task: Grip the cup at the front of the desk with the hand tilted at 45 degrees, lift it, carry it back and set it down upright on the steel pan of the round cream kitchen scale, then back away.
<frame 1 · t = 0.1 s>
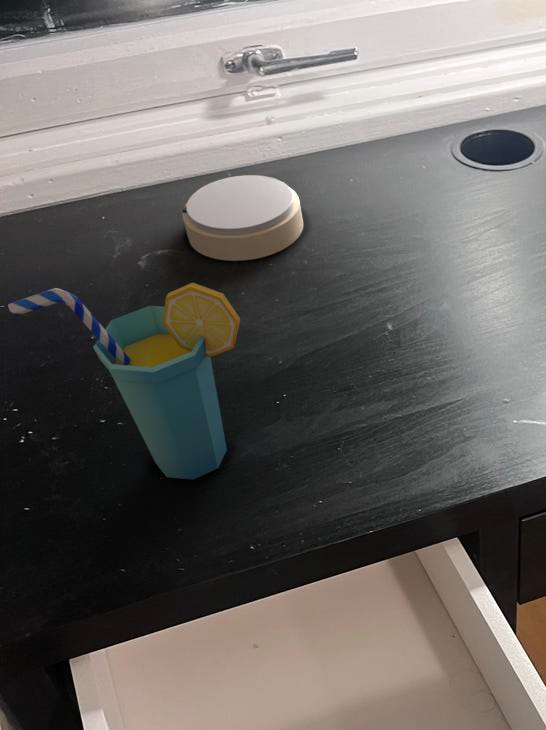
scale: (246, 231, 95), on the table
cup: (180, 461, 75), on the table
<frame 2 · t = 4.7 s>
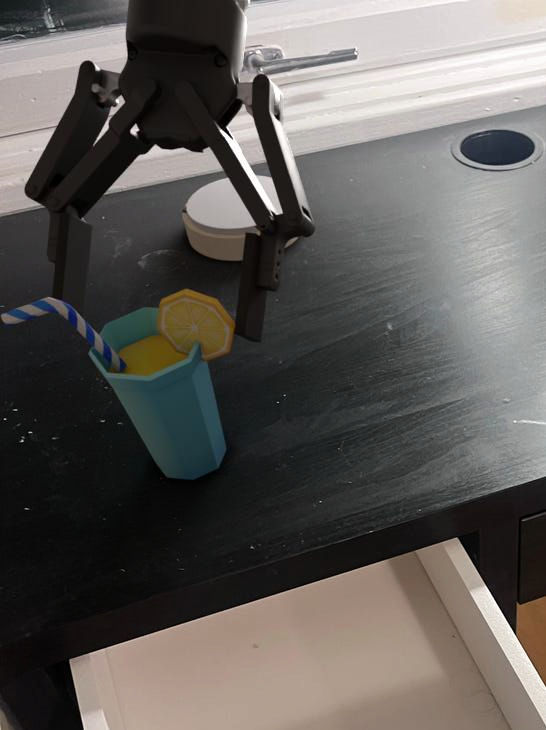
hand: (155, 327, 68), 10 cm above the table, tool tilted 45°, fingers open, 13 cm apart
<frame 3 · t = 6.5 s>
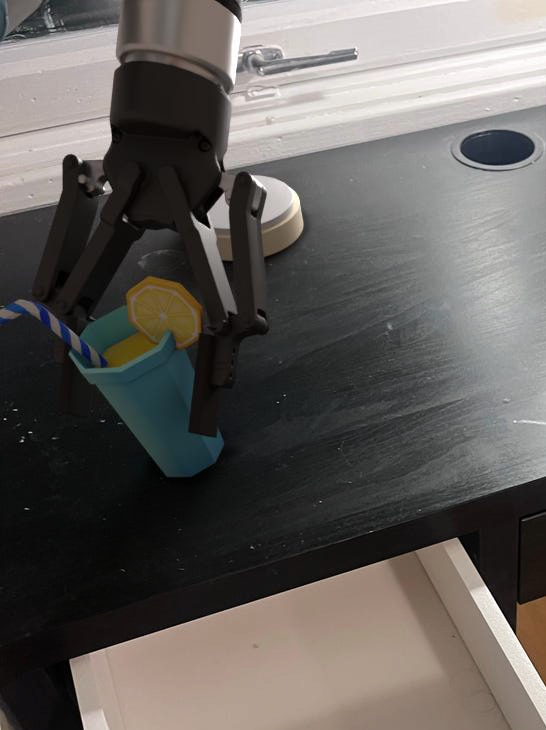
hand: (137, 425, 68), 6 cm above the table, tool tilted 45°, fingers closed on cup, 9 cm apart
cup: (180, 458, 75), on the table, touching gripper
when the fingers open (9 cm above the table, at t = 16.1 s): cup stays where it is, point 3 cm above the table.
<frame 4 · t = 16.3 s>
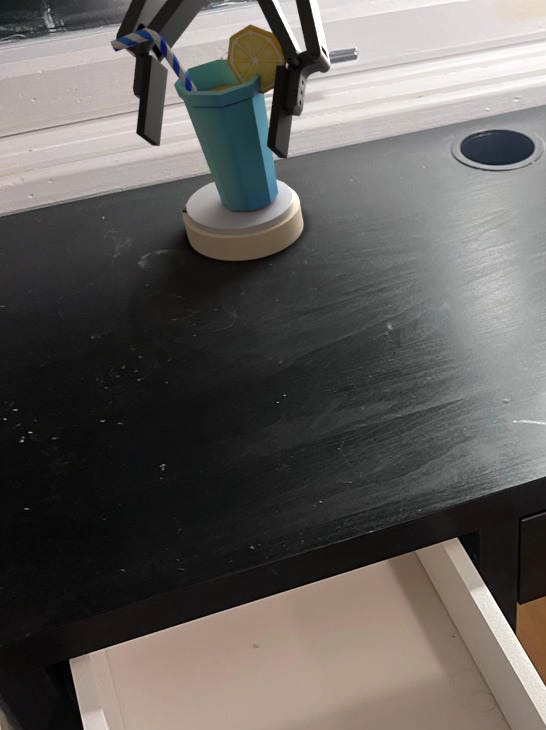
hand: (211, 146, 86), 9 cm above the table, tool tilted 45°, fingers open, 11 cm apart
cup: (241, 201, 93), point 3 cm above the table, touching gripper
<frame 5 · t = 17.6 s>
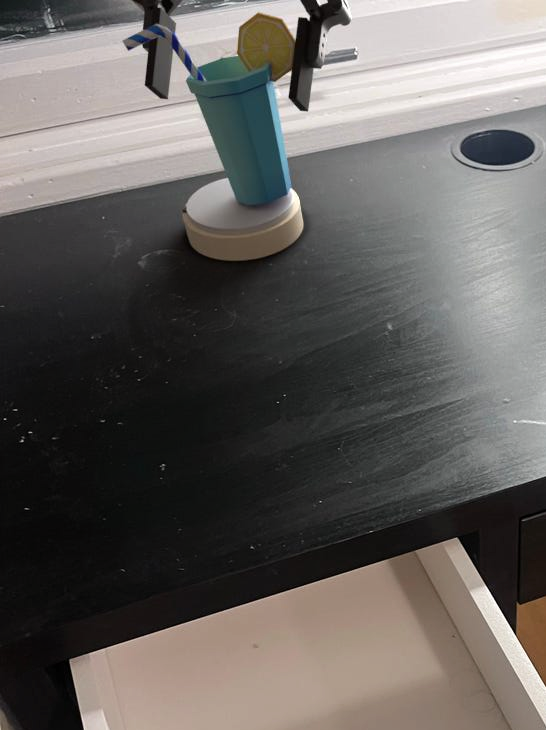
hand: (226, 99, 87), 11 cm above the table, tool tilted 45°, fingers open, 13 cm apart
cup: (255, 198, 93), point 3 cm above the table, touching gripper, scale
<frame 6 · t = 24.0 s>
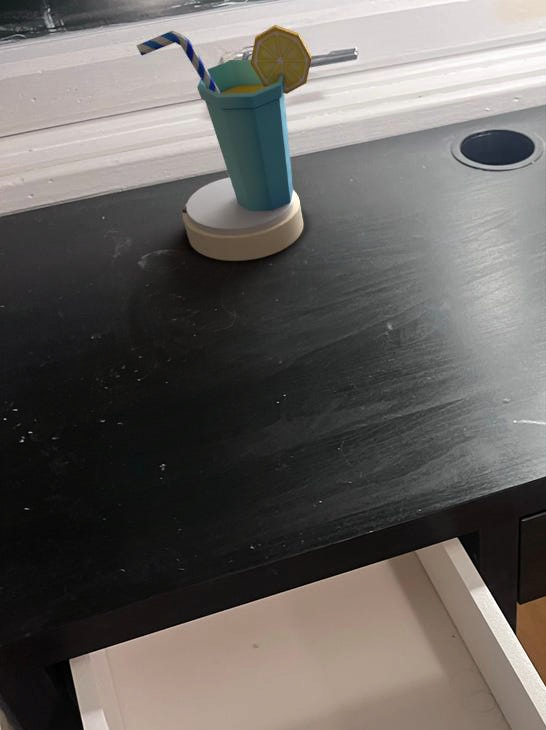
cup: (257, 201, 93), point 3 cm above the table, touching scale
at the end: cup inside the target area on the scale (1.6 cm from its centre), point 2.8 cm above the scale's base; cup tilted 0°; the gripper is holding nothing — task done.
